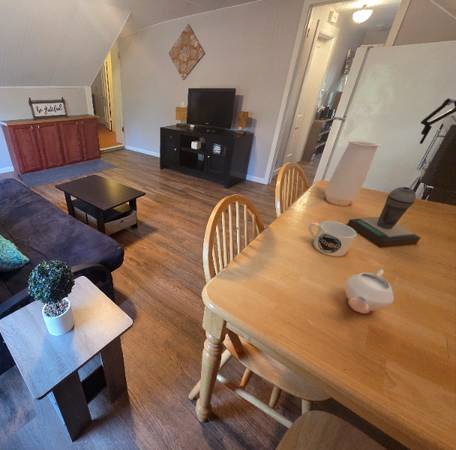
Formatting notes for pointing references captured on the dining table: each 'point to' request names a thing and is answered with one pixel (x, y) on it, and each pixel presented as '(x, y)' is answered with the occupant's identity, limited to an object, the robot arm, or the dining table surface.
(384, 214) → the beverage cup
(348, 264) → the dining table surface
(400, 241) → the scale
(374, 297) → the teapot
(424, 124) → the robot arm
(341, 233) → the mug
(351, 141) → the vase
